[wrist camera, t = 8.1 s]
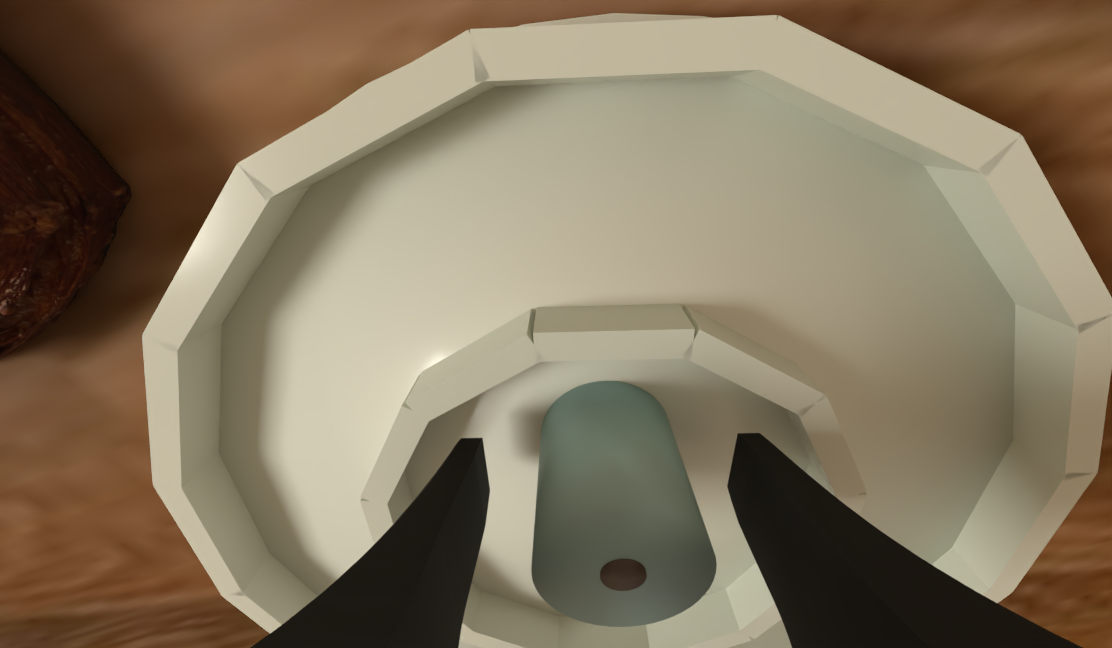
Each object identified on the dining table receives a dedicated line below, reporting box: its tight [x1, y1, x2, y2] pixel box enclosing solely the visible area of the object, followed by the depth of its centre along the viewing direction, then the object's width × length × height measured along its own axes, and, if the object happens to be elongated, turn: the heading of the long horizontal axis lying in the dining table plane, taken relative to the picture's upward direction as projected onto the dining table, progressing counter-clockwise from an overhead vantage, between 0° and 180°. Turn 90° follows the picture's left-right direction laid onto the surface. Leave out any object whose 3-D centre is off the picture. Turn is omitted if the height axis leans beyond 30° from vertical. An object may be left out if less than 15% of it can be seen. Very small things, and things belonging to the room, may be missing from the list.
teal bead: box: [531, 381, 717, 627], centre depth 11 cm, size 4×4×5 cm
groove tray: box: [142, 13, 1112, 648], centre depth 14 cm, size 28×28×2 cm
